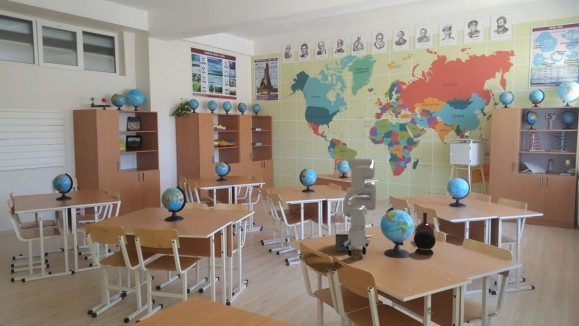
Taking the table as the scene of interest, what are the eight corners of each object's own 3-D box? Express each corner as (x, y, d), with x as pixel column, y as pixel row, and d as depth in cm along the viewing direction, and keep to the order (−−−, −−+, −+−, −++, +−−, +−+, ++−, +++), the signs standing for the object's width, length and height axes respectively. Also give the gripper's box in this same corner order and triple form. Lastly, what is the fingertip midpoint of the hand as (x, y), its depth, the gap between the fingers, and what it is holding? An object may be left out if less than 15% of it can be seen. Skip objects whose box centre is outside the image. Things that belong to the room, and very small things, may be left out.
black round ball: (409, 251, 267) (409, 228, 266) (426, 249, 271) (427, 226, 270) (421, 256, 255) (422, 232, 254) (439, 254, 259) (440, 230, 258)
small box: (351, 249, 271) (351, 233, 270) (352, 252, 265) (352, 236, 264) (335, 249, 272) (335, 233, 272) (335, 252, 266) (335, 236, 265)
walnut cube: (358, 256, 257) (358, 248, 256) (362, 258, 252) (362, 250, 252) (351, 257, 255) (351, 249, 255) (354, 259, 250) (355, 251, 250)
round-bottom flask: (437, 244, 283) (437, 215, 282) (417, 244, 284) (418, 215, 282) (430, 239, 296) (431, 211, 295) (412, 239, 297) (412, 211, 295)
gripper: (366, 225, 259) (366, 252, 260) (341, 227, 253) (341, 254, 254) (372, 227, 251) (372, 255, 253) (346, 230, 246) (346, 258, 247)
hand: (356, 255), depth 254 cm, fingers open, 9 cm apart
